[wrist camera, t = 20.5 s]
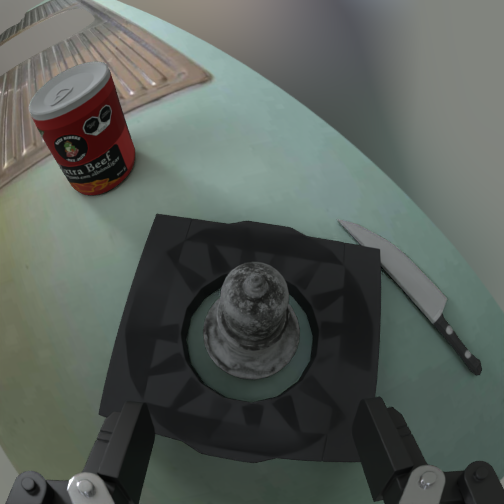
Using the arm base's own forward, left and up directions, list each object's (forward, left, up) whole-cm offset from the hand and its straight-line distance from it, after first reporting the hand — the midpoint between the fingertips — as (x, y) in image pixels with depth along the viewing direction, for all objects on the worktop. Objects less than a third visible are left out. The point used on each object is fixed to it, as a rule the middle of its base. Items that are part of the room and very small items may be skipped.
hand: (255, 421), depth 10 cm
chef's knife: (+13, +11, -10) cm, 20 cm away
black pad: (-1, +5, -10) cm, 11 cm away
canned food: (-19, +19, -10) cm, 29 cm away
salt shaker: (-1, +5, -10) cm, 12 cm away
